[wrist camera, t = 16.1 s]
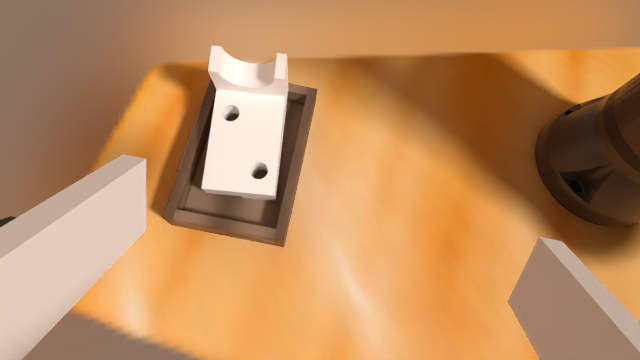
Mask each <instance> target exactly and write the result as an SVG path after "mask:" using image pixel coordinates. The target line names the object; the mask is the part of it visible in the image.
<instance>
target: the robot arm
mask: <svg viewBox="0 0 640 360" xmlns="http://www.w3.org/2000/svg"><path fill="white" fill-rule="evenodd" d="M536 161H537V166H538V169H539V172H540V175H541V177H542V179H543V181H544V183H545V184H546V186H547V188H548V189H549V190H550V192H551V193H552V194H553V196H554V197H555V198H556V199H557V200H558V201H559V202H560V203H561V204H562V205H563V206H565V207H566V208H567V209H568V210H570V211H571V212H573V213H574V214H576V215H577V216H579V217H581V218H583V219H585V220H587V221H590V222H592V223H596V224H599V225H604V226H625V225H630V224H633V223H636V222H639V221H640V73H639V74H638V75H637V76H635V77H634V78H632V79H631V80H630V81H628V82H627V83H625V84H624V85H623V86H622V87H620V88H619V89H617V90H616V91H614V92H613V93H611V94H608V95H605V96H602V97H599V98H596V99H593V100H590V101H587V102H584V103H581V104H578V105H575V106H572V107H570V108H568V109H566V110H564V111H562V112H561V113H559V114H558V115H557V116H556V117H554V118H553V119H552V120H551V121H549V122H548V123H547V124H546V125H545V126H544V128H543V129H542V130H541V132H540V134H539V136H538V139H537V143H536ZM145 231H146V158H141V157H135V156H130V155H125V154H122V155H121V156H119V157H117V158H116V159H114V160H112V161H111V162H109V163H107V164H106V165H104V166H102V167H101V168H99V169H97V170H96V171H94V172H92V173H91V174H89V175H87V176H86V177H84V178H82V179H81V180H79V181H77V182H76V183H74V184H72V185H71V186H69V187H68V188H66V189H64V190H62V191H61V192H59V193H57V194H55V195H54V196H52V197H50V198H49V199H47V200H45V201H44V202H42V203H40V204H39V205H37V206H36V207H34V208H32V209H30V210H29V211H27V212H25V213H24V214H22V215H20V216H19V217H17V218H16V217H11V216H10V217H8V218H5V219H1V220H0V360H22V359H23V358H24V357H25V355H26V354H27V353H29V352H30V351H31V349H32V348H33V347H34V346H35V345H36V344H37V343H38V342H39V341H40V340H41V339H42V338H43V337H44V336H45V335H46V334H47V333H48V332H49V331H50V330H51V329H52V328H53V327H54V325H56V323H57V322H58V321H59V320H60V319H61V318H62V317H63V316H64V315H65V314H66V313H67V312H68V311H69V310H70V309H71V308H72V307H73V306H74V305H75V304H76V303H77V302H78V301H79V300H80V299H81V297H82V296H83V295H84V294H85V293H86V292H87V291H88V290H89V289H90V288H91V287H92V286H93V285H94V284H95V283H96V282H97V281H98V280H99V279H100V278H101V277H102V276H103V275H104V274H105V273H106V271H107V270H108V269H109V268H110V267H111V266H112V265H113V264H114V263H115V262H116V261H117V260H118V259H119V258H120V257H121V256H122V255H123V254H124V253H125V252H126V251H127V250H128V249H129V248H130V247H131V245H132V244H133V243H134V242H135V241H136V240H137V239H138V238H139V237H140V236H141V235H142V234H143V233H144V232H145ZM508 303H509V305H510V307H511V308H512V310H513V312H514V314H515V316H516V317H517V319H518V321H519V323H520V324H521V326H522V328H523V330H524V332H525V333H526V335H527V337H528V339H529V341H530V342H531V344H532V346H533V348H534V349H535V351H536V353H537V355H538V357H539V358H540V360H640V322H639V321H638V320H637V319H636V318H635V317H634V316H633V315H632V314H631V313H630V312H629V311H628V310H627V309H626V308H625V307H624V306H623V304H622V303H621V302H620V301H619V300H618V299H617V298H616V297H615V296H614V295H613V294H612V293H611V292H610V291H609V290H608V289H607V288H606V287H605V286H604V285H603V284H602V283H601V281H600V280H599V279H598V278H597V277H596V276H595V275H594V274H593V273H592V272H591V271H590V270H589V269H588V268H587V267H586V266H585V265H584V264H583V263H582V262H581V261H580V259H579V258H578V257H577V256H576V255H575V254H574V253H573V252H572V251H571V250H570V249H569V248H568V247H567V246H566V245H565V244H564V243H563V242H562V241H558V240H553V239H548V238H543V237H539V238H538V240H537V243H536V245H535V247H534V249H533V251H532V253H531V255H530V257H529V259H528V261H527V263H526V265H525V267H524V270H523V272H522V274H521V276H520V278H519V280H518V282H517V284H516V286H515V288H514V290H513V292H512V294H511V297H510V299H509V301H508Z"/></svg>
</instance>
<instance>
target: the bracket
mask: <svg viewBox="0 0 640 360" xmlns="http://www.w3.org/2000/svg"><path fill="white" fill-rule="evenodd" d="M208 72H209V75H210V77H211V79H212V81H213V83H214V85H215V87H216V96H215V102H214V109H213V116H212V122H211V129H210V135H209V142H208V148H207V155H206V161H205V168H204V175H203V181H202V188H201V189H203V190H204V191H205V192H207V193H213V194H223V195H233V196H242V197H243V198H252V199H262V200H273V201H276V195H277V186H278V177H279V168H280V159H281V150H282V141H283V132H284V123H285V114H286V105H287V96H288V64H287V54H281V53H277V57H276V58H275V59H274V60H273V61H271V62H268V63H263V64H253V63H247V62H243V61H240V60H237V59H235V58H233V57H231V56H230V55H228V54H227V53H226V52H225V51H224V50H223V48H222V47H220V46H212V49H211V54H210V61H209V67H208ZM232 114H237V115H239V117H238V118H237V119H236V120H234V121H227V118H228V117H229V116H230V115H232ZM259 170H265V171H267V172H268V173H267V175H266V176H265V177H264V178H262V179H255V178H254V174H255V173H256V172H257V171H259Z"/></svg>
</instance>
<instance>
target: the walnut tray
mask: <svg viewBox="0 0 640 360" xmlns="http://www.w3.org/2000/svg"><path fill="white" fill-rule="evenodd" d="M316 94H317V89H314V88H309V87H304V86H299V85H294V84H289V83H288V96H287V105H286V114H285V123H284V132H283V141H282V150H281V159H280V168H279V177H278V186H277V195H276V201H273V200H262V199H252V198H243V197H242V196H233V195H223V194H213V193H207V192H205V191H204V190H203V189H201V188H202V181H203V175H204V168H205V161H206V155H207V148H208V142H209V135H210V129H211V122H212V116H213V109H214V102H215V96H216V87H215V85H214V83H213V81H212V79H211V80H210V83H209V86H208V89H207V92H206V95H205V97H204V100H203V103H202V106H201V107H200V108H199V111H198V113H197V116H196V119H195V122H194V125H193V128H192V131H191V133H190V136H189V139H188V142H187V145H186V148H185V150H184V153H183V156H182V159H181V162H180V165H179V168H178V170H177V172H178V175H177V178H176V180H175V183H174V186H173V189H172V192H171V195H170V198H169V200H168V203H167V206H166V209H165V212H164V215H163V218H164V219H166V220H167V221H168V222H169V223H170V224H171V225H175V226H180V227H185V228H190V229H195V230H200V231H205V232H210V233H215V234H220V235H225V236H230V237H236V238H241V239H246V240H251V241H256V242H261V243H266V244H271V245H276V246H281V247H284V245H285V240H286V236H287V231H288V226H289V222H290V217H291V213H292V208H293V203H294V199H295V194H296V190H297V185H298V180H299V176H300V171H301V167H302V162H303V158H304V153H305V148H306V144H307V139H308V135H309V130H310V125H311V121H312V116H313V112H314V107H315V102H316ZM238 117H239V115H237V114H232V115H230V116H229V117H228V118H227V121H234V120H236V119H237V118H238ZM267 173H268V172H267V171H265V170H259V171H257V172H256V173H255V174H254V178H255V179H262V178H264V177H265V176H266V175H267Z"/></svg>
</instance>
